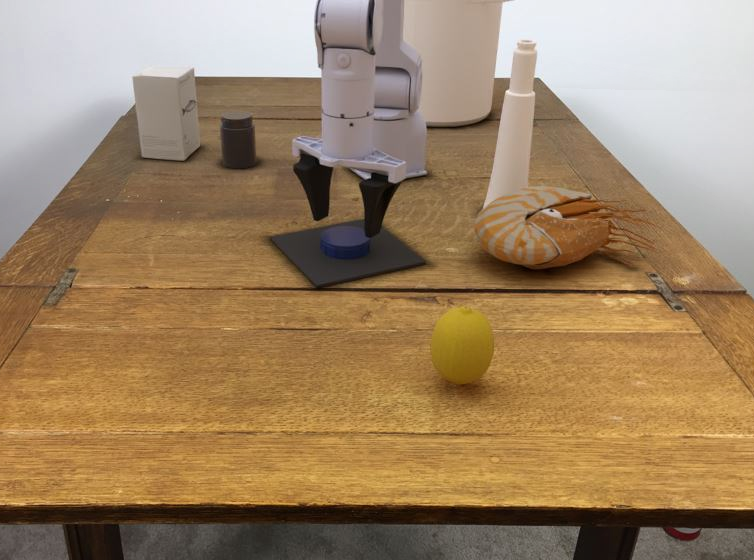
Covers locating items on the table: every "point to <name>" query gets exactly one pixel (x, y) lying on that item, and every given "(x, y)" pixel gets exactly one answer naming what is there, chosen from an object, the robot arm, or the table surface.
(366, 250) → the jar lid
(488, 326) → the lemon
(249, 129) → the jar
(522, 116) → the cosmetic bottle
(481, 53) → the bucket
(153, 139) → the white packaging box
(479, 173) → the table surface
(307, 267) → the mat
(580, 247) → the nautilus
